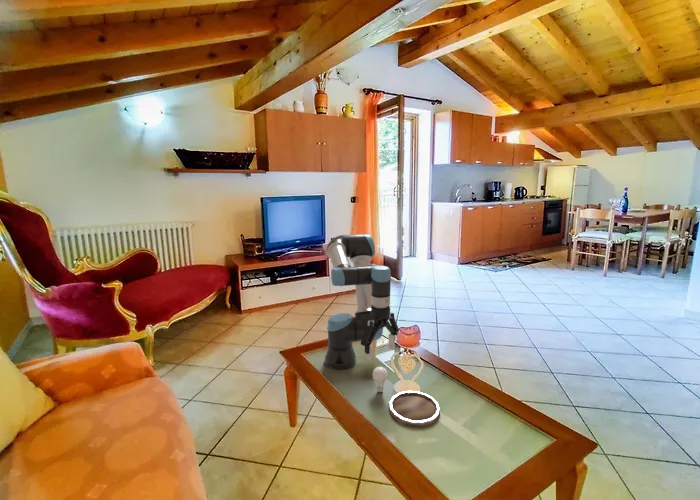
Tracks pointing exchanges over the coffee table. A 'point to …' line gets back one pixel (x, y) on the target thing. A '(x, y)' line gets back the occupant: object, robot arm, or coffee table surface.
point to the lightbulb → (380, 377)
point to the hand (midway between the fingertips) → (380, 354)
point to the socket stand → (414, 409)
